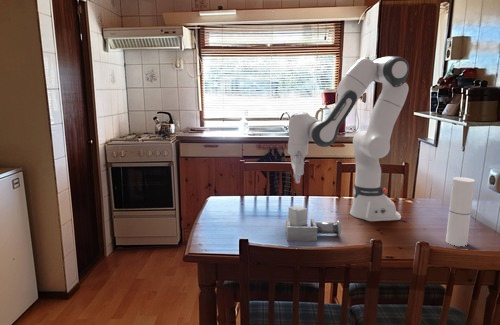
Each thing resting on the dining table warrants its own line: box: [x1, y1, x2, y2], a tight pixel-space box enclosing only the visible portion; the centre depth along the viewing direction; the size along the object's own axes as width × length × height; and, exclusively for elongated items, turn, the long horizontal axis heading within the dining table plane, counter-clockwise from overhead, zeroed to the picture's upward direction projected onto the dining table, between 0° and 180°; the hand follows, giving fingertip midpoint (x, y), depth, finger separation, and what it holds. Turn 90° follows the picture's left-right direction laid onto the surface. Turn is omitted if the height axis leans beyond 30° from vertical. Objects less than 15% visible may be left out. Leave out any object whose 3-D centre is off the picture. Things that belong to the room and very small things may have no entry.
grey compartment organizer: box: [285, 217, 342, 242], centre depth 146 cm, size 21×10×6 cm, turn 88°
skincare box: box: [287, 204, 308, 226], centre depth 159 cm, size 6×6×7 cm
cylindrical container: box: [445, 176, 476, 247], centre depth 138 cm, size 7×7×25 cm
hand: (296, 180), depth 163 cm, fingers open, 8 cm apart
